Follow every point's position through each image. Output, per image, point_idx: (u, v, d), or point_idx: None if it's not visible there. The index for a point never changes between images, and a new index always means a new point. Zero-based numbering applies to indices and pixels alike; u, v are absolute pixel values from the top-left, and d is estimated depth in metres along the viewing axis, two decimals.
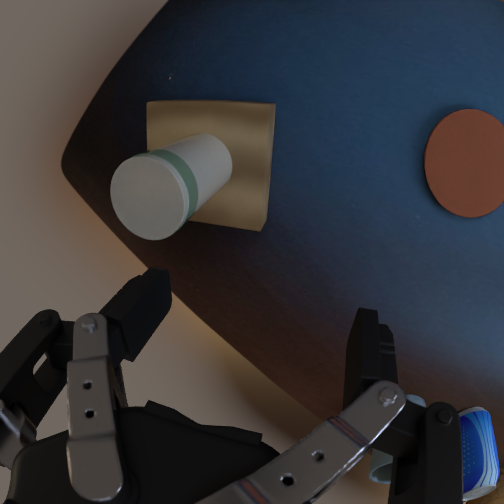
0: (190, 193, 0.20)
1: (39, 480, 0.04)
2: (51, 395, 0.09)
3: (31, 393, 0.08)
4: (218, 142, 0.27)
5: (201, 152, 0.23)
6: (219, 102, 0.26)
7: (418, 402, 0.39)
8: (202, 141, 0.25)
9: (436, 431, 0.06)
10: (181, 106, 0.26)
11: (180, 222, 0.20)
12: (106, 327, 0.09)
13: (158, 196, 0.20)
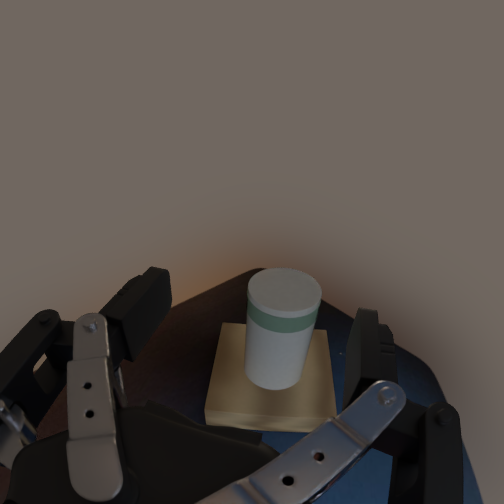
0: (290, 321, 0.23)
1: (39, 480, 0.04)
2: (51, 395, 0.09)
3: (31, 393, 0.08)
4: (298, 377, 0.28)
5: (304, 351, 0.26)
6: (332, 381, 0.29)
7: None
8: (305, 359, 0.28)
9: (436, 431, 0.06)
10: (324, 353, 0.32)
11: (268, 307, 0.23)
12: (106, 327, 0.09)
13: (289, 296, 0.25)
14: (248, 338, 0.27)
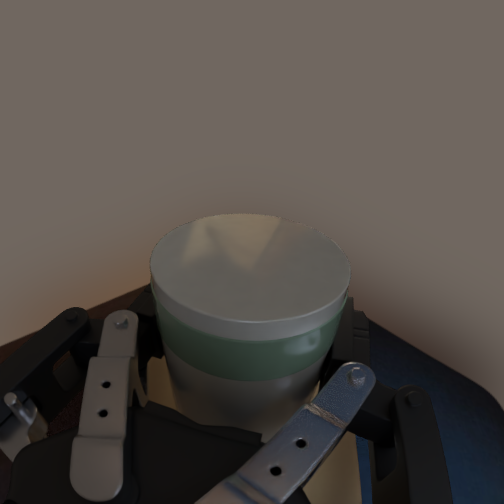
0: (258, 349, 0.07)
1: (39, 480, 0.04)
2: (70, 393, 0.09)
3: (48, 389, 0.08)
4: None
5: None
6: (355, 452, 0.13)
7: None
8: None
9: (405, 413, 0.07)
10: None
11: (187, 305, 0.07)
12: (138, 324, 0.10)
13: (260, 274, 0.09)
14: (169, 377, 0.11)
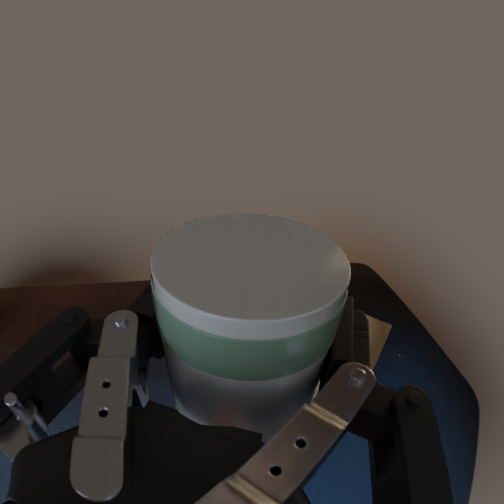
0: (258, 349, 0.07)
1: (39, 480, 0.04)
2: (70, 392, 0.09)
3: (48, 389, 0.08)
4: None
5: None
6: (373, 367, 0.28)
7: None
8: None
9: (405, 413, 0.07)
10: (379, 343, 0.31)
11: (187, 305, 0.07)
12: (138, 324, 0.10)
13: (260, 274, 0.09)
14: (169, 377, 0.11)
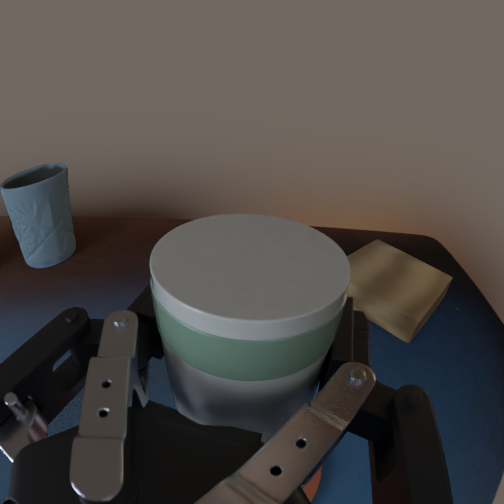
0: (258, 349, 0.07)
1: (39, 480, 0.04)
2: (70, 392, 0.09)
3: (48, 389, 0.08)
4: None
5: None
6: (433, 303, 0.29)
7: (44, 258, 0.35)
8: None
9: (405, 413, 0.07)
10: (440, 287, 0.32)
11: (187, 305, 0.07)
12: (138, 324, 0.10)
13: (260, 274, 0.09)
14: (169, 377, 0.11)
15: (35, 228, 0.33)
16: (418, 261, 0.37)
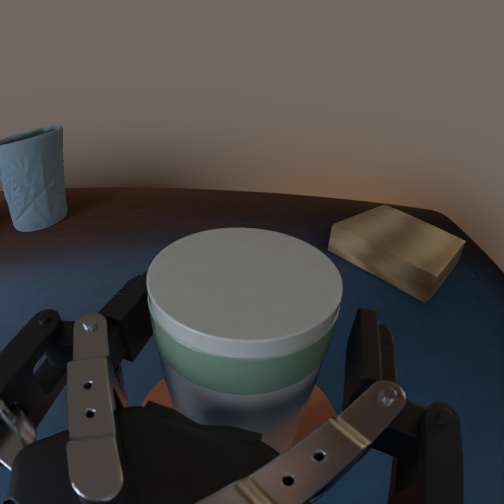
0: (251, 366, 0.07)
1: (39, 480, 0.04)
2: (51, 395, 0.09)
3: (31, 393, 0.08)
4: None
5: (295, 421, 0.11)
6: (449, 261, 0.27)
7: (32, 221, 0.32)
8: (298, 427, 0.12)
9: (436, 431, 0.06)
10: (454, 248, 0.29)
11: (182, 324, 0.07)
12: (106, 327, 0.09)
13: (253, 292, 0.09)
14: None
15: (25, 186, 0.30)
16: (428, 225, 0.34)
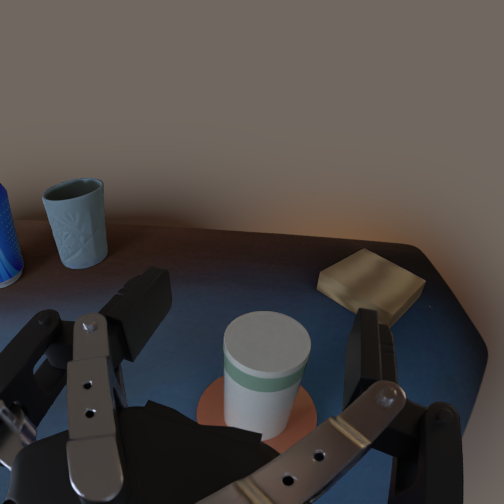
0: (271, 381, 0.19)
1: (39, 480, 0.04)
2: (51, 394, 0.09)
3: (31, 393, 0.08)
4: (283, 428, 0.24)
5: (289, 405, 0.22)
6: (406, 300, 0.38)
7: (82, 261, 0.44)
8: (291, 410, 0.24)
9: (436, 431, 0.06)
10: (414, 288, 0.41)
11: (245, 366, 0.19)
12: (106, 327, 0.09)
13: (272, 350, 0.20)
14: (225, 390, 0.22)
15: (76, 234, 0.41)
16: (397, 267, 0.46)
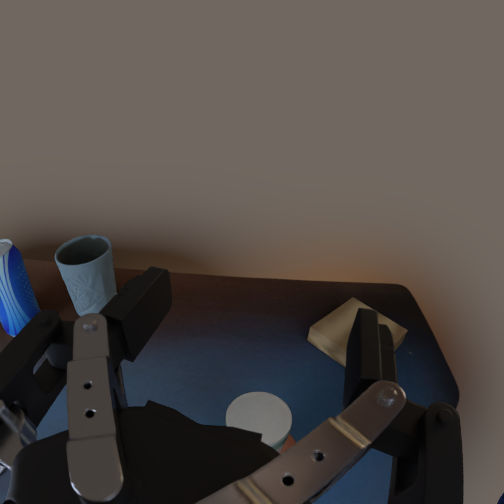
0: None
1: (39, 480, 0.04)
2: (51, 395, 0.09)
3: (31, 393, 0.08)
4: None
5: None
6: None
7: None
8: None
9: (436, 431, 0.06)
10: (395, 339, 0.45)
11: None
12: (106, 327, 0.09)
13: (262, 427, 0.25)
14: None
15: (89, 293, 0.46)
16: (382, 317, 0.50)
